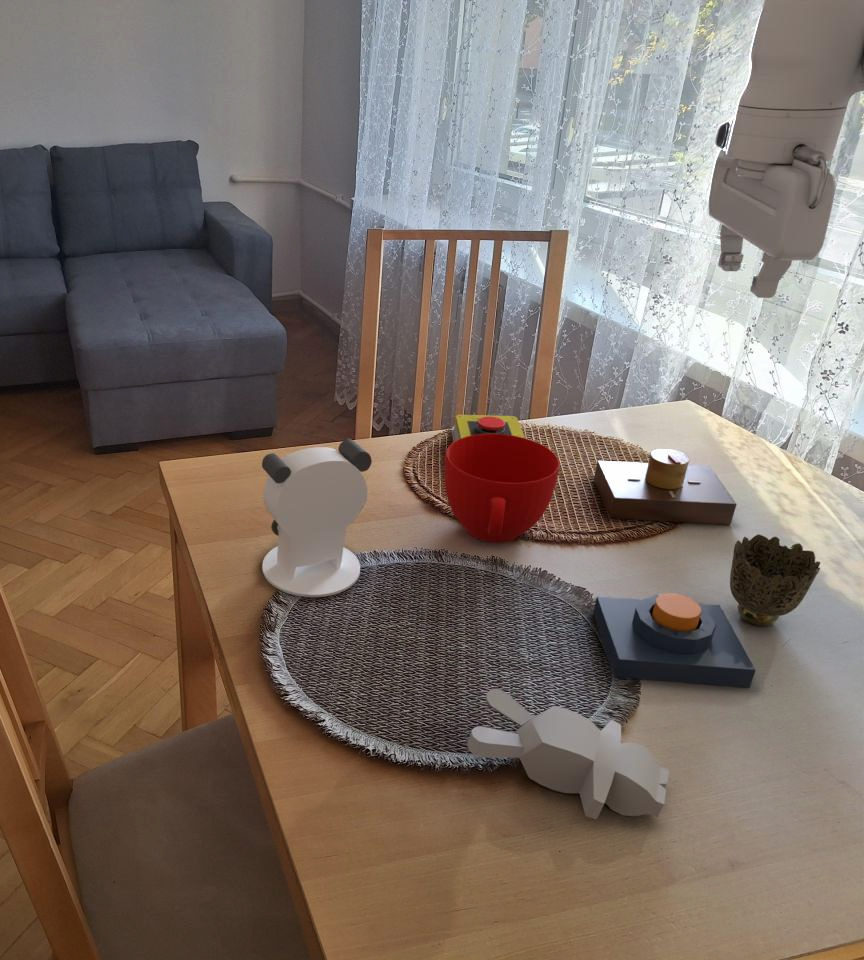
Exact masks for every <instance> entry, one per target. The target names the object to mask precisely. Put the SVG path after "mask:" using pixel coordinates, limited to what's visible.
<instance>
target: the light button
mask: <svg viewBox="0 0 864 960" xmlns="http://www.w3.org/2000/svg"><path fill="white" fill-rule="evenodd" d="M659 595H660V596H658V597H657V599H656V602H655V605H654V609H653V613H652V616H653V619H654V620H655V621H656V622H657V623H659V624H660V625H661V626H664V627H667V628H669V629H672V630H675V631H686V632H690V631H693V630H694V629H695V628H696V627H697V625H698V622H699V618H700V615H701V607H700V606H699V604H700V603H698V602H697V601H695V599H692V598H691V597H688V596H687V595H683V594H679V593H674V592H668V593H662V594H659Z"/></svg>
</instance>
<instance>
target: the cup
mask: <svg viewBox="0 0 864 960" xmlns="http://www.w3.org/2000/svg"><path fill="white" fill-rule="evenodd" d="M780 541H781V539H780V538H779V537H778V536H773V537H771V538H770V539H769V538H768V537H767V536H765V535H762V534H759V533H758V534H756V535H754V536H753V537H751V538H750V539H749V538H748V537H746V536H744V537H743V538H742V541H741V540H737V541H736V542H735V544H734V547H733V555H732V562H731V568H730V575H729V576H730V577H729V588H730V593H731V595H732V597H733V599H734V600H735V602H737V611H738V614H739V616H740V617H741V619H743V620H744V621H746V622H747V623H749V624H753V625H755V626H759V627H760V626H761V627H768V626H771V625H773V624H774V623H776V622H777V621H778V620H779V618H780V617H781V616H784V615H788V614H789V613H792V612H793V611H794V610H796V609H797V607H798V606H800V604H801V603H802V601H803V600H804V598H805V597H806V595H807V593H808V592H809V590H810V588H811V586H812V584H813V583H814V581H815V579H816V577H817V575H818V574H819V573H820V570H821V567H820V565H821V562H820V561H818V560H816V555H815V552H814V551H813V550H803V549H804V548H803V545H802V544H801V543H800V542H798V543H794V544H792V545H791V546H790V547H788V546H787V545H786V544H785V545H783V544H782V545H781V544H780Z"/></svg>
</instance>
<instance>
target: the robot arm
mask: <svg viewBox="0 0 864 960" xmlns="http://www.w3.org/2000/svg"><path fill="white" fill-rule="evenodd" d="M753 34H754V35H753V38H752V42H751V47H750V50H749V75H748V78H747V82H746V84H745V86H744V89H743V90H742V92H741V94H740V96H739V99H738V101H737V105H736V109H735V114H734V115H733V116H732V117H731V118H730V119H728V120H726V121H725V122H723V123H721V124H720V125H719V126H718V127H717V129H716V132H715V133H716V134H715V138H714V146H715V147H716V148H718V149H719V150H718V151H717V153H716V156H715V159H714V163H713V167H712V173H711V179H710V184H709V191H708V196H707V197H708V198H707V210H708V216H709V217H711V218H712V219H714V220H715V221H716V222H718V223H720V224H721V228H720V232H719V236H720V241H719V242H720V254H719V259H718V262H717V266H718V267H719V268H720V269H721V271H724V272H738V271H740V269H741V267H742V262H743V259H744V257H745V256H744V254H743V253H742V251H743V243H744V240H746V241H747V242H749V243H750V244H752V245H753V246H755V247H756V248H758V249H759V250H761V251H762V252H763V254H762V257H761V262H762V265H761V267H760V270H759V272H758V274H757V275H753V278H752V281H751V286H750V289H749V290H750V293H752V294H753V295H754V296H755V297H757V298H758V299H771V298H773V297H774V296H775V295H776V294H777V290H778V286H779V283H780V281H781V280H782V279H783V277H784V275H785V274H786V273H787V271H788V270H789V269H790V267H791V266H792V263H793V261H812V260H814V259H815V258H816V257H817V256H818V254H819V253H820V252H821V251H822V249H823V246H824V243H825V239H826V235H827V231H828V228H829V227H828V226H829V222H830V219H831V214H832V211H833V210H832V209H833V205H834V200H835V193H836V180H835V177H834V175H833V174H832V173H831V172H830V168H828V164H827V162H829V161H831V160H832V159H833V157H834V154H835V150H836V146H837V143H838V139H839V136H840V133H841V130H842V126H843V123H844V119H845V116H846V112H847V109H848V105H849V102H850V100H851V98H852V97H853V96H854V95H855V94H856V93H859V92H864V0H763V3H762V7H761V9H760V13H759V17H758V20H757V23H756V26H755V31H754V33H753Z"/></svg>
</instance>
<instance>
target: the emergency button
mask: <svg viewBox="0 0 864 960" xmlns="http://www.w3.org/2000/svg"><path fill="white" fill-rule="evenodd" d="M478 434H505V435H513V436H518V437H522V438H526V436H525V433H524V431H523V429H522V426H521V424H520V421H519V418H518V417H517V416H515V415H492V414H489V415H488V414H458V415H455V420H454V425H453V426H452V428H451V436H452V440H453V442H455V441H456V440H458V439H461V438H463V437H467V436H471V435H478Z"/></svg>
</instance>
